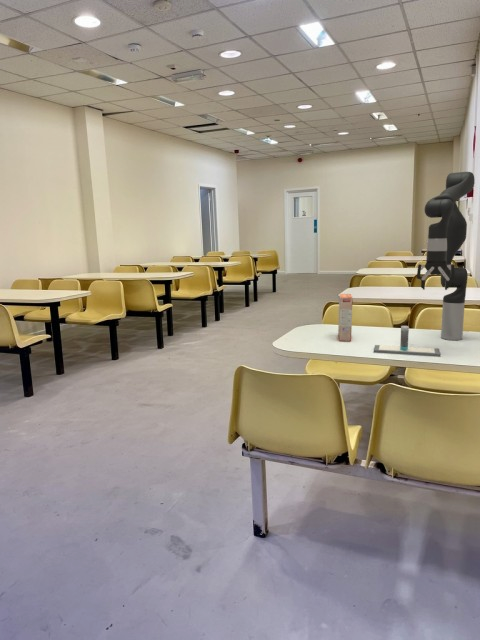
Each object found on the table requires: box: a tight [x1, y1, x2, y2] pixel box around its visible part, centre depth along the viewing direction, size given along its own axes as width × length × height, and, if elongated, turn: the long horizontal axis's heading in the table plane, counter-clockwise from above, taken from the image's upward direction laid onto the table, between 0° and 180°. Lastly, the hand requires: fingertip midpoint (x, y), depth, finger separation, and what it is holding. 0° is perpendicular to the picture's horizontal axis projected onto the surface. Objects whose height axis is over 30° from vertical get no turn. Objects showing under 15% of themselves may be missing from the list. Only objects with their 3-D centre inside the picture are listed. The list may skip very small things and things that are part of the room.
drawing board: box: [373, 344, 441, 358], centre depth 197 cm, size 10×26×1 cm, turn 70°
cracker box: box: [337, 293, 354, 342], centre depth 223 cm, size 14×6×21 cm, turn 170°
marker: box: [399, 325, 410, 351], centre depth 194 cm, size 3×3×10 cm
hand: (434, 289), depth 193 cm, fingers open, 8 cm apart
